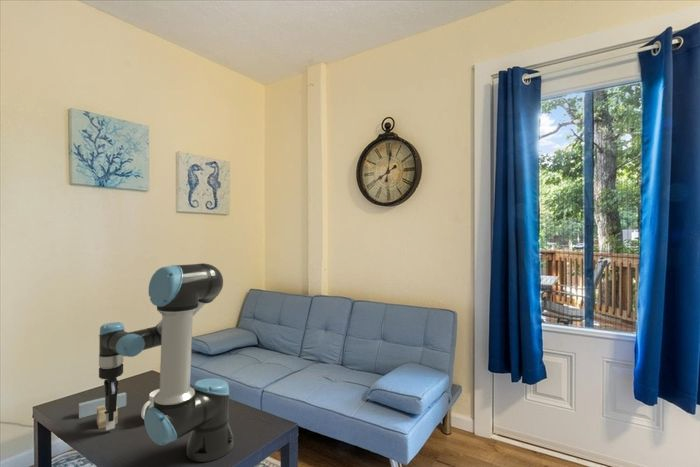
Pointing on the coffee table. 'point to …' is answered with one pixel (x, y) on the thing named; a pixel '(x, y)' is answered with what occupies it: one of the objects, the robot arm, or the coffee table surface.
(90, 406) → the board
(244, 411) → the coffee table surface
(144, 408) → the mug
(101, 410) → the block
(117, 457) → the coffee table surface
